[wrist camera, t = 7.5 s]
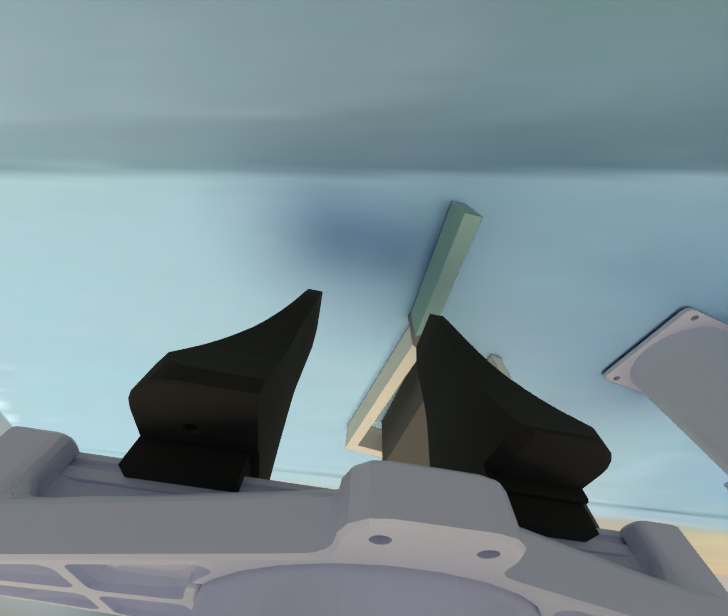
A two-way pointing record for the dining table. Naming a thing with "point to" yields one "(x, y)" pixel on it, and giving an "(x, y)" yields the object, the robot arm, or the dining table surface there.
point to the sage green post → (444, 265)
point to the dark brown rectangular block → (406, 424)
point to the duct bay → (387, 397)
